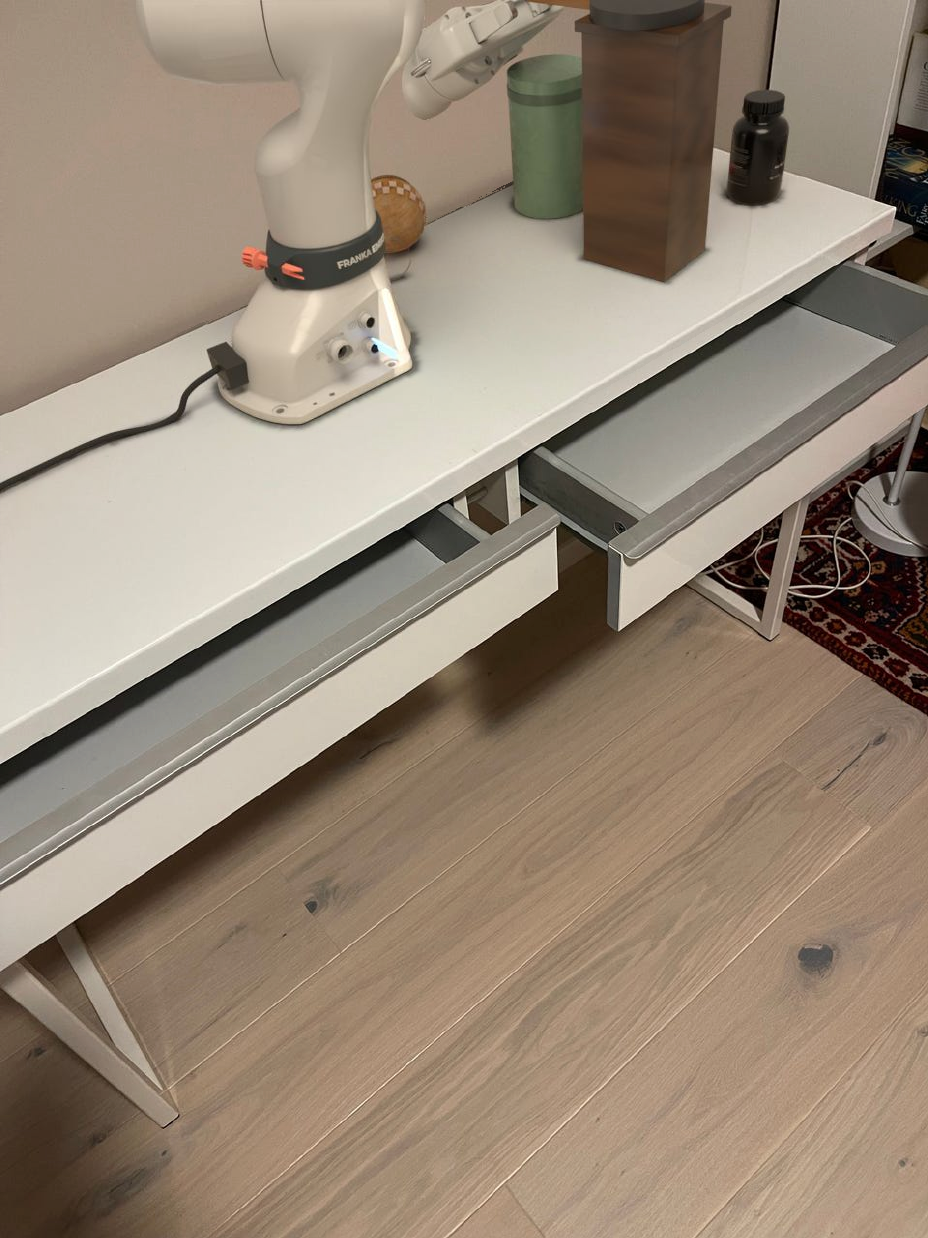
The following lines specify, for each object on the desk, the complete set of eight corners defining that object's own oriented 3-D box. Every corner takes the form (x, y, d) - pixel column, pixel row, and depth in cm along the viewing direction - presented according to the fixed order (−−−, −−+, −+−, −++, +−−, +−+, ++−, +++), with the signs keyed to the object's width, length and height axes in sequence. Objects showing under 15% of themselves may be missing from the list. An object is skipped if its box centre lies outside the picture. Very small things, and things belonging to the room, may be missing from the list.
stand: (665, 285, 115) (679, 35, 97) (577, 259, 122) (574, 20, 103) (711, 249, 120) (732, 5, 102) (623, 226, 126) (628, -8, 108)
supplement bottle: (785, 203, 127) (799, 103, 118) (730, 208, 127) (740, 108, 118) (774, 181, 131) (787, 83, 123) (722, 185, 132) (731, 88, 123)
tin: (559, 225, 128) (556, 88, 117) (498, 208, 133) (488, 75, 122) (605, 194, 133) (606, 60, 122) (544, 180, 138) (539, 49, 127)
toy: (445, 282, 122) (432, 204, 130) (417, 222, 115) (405, 143, 122) (375, 308, 124) (367, 230, 132) (343, 251, 117) (336, 172, 124)
